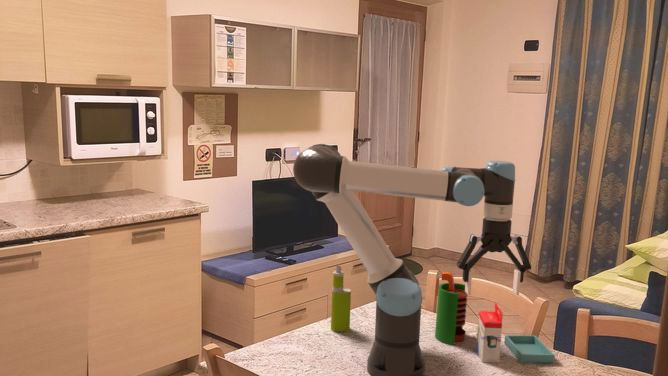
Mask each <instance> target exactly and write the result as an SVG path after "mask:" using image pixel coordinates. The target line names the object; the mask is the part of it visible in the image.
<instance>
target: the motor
mask: <svg viewBox="0 0 668 376" xmlns="http://www.w3.org/2000/svg"><path fill="white" fill-rule="evenodd" d="M441 281H447V282H444V283H441V284H439V285H438V294H437V306H436V319H435V330H434V331H435V333H434V338H435V339H436V340H437V341H439V342H441V343H444V344H447V345H452V346H454V345H455V344H461V343H464V342H465V340H466V333H467V332H466V330H465V329H464V328H463V327H464V326H465V325H466V316H467V315H466V314H467V307H468V306H467V305H468V304H467V303H468V297H469V295H468V294H467V293H466V292H465V284H463V283H459V282H455V280H454V276H453V274H452V273H451V272H448V271H443V272H442V273H441Z"/></svg>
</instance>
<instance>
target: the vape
mask: <svg viewBox="0 0 668 376" xmlns="http://www.w3.org/2000/svg"><path fill="white" fill-rule="evenodd" d="M344 274H345V272H344V271H342V266H340V265H336V266H335V270H334V271H333V272H332V275H333V276H332V277H333V278H332V289H331V295H330V296H331V297H330V298H331V304H330V305H331V310H330V312H331V313H330V330H331V331H332V330H333V331H332V332H335V331H347V332H349V331H350V329H351V327H350V326H351V299H352V297H351V295H352V289H351V288H348V287H344V277H345V275H344Z"/></svg>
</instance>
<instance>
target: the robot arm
mask: <svg viewBox="0 0 668 376" xmlns="http://www.w3.org/2000/svg"><path fill="white" fill-rule="evenodd" d="M292 169H293V170H292V173H293V176H294V179H295V181H296V183H297V184H298V185H299V186H300V187H301V188H303V189H304V190H306V191H308V192H311V193H312V195H313V196H314V198H315V200H316V201H318V202H322V203H324V204H325V205H326V207H327V209H328V210H329V212H330V213H331V215H332V217H333V218H334V220H335V222H336V223H337V225H338V226H339V228H340V230H341V231H342V232H343V234H344V236H345V238H346V239H347V241H348V242H349V244H350V246H351V248H352V249H353V250H354V252H355V254H356V255H357V257H358V258H359V260H360V262H361V263H362V265H363V267H364V268H365V270H366V272H367V273H368V277H367V281H366V282H367V283H368V285H369V286H370V288H371V290H372V291H373V293H374V294H375V301H376V302H375V303H376V304H375V325H374V327H375V328H374V341H373V344H372V346H371V349H370V352H369V355H368V357H367V359H366V360H367V362H366V370H367V372H368V374H369V375H371V376H424V375H425V370H426V369H425V367H426V364H425V361H424V360H425V359H424V356H423V354H422V353H423V352H422V349H421V347H420V334H421V333H420V331H421V315H422V304H423V293H422V289H421V287H420V284H419V281H418V279H417V277H416V276H415V274H414V273H413V272H412V271H411V270H409V269H408V267H407V266H406V263H405V262H404V261H403V259H400V258H396V257H395V256H394V255H393V253H392V251H391V250H390V248H389V246H388V245H387V243H386V242H385V240H384V239H383V236H382V235H381V234H380V232H379V230H378V228H377V227H376V225H375V223H374V221H373V220H372V219H371V217H370V216H369V214H368V212H367V211H366V209H365V208H364V206H363V204H362V203H361V200H360V199H359V198H358V196H357V194H356V193H355V192H361V193H367V194H369V193H371V194H378V195H386V196H387V195H389V196H396V197H405V198H416V199H425V200H432V201H433V200H435V201H444V202H450V203H458V204H459V205H461V206H464V207H472V206H473V207H474V206H476V205H478V204H479V203H480V202H481V201H482V200H483V198H484V203H483V214H482V216H484V217H483V218H482V228H481V231H482V232H481V235H475V234H472V233H471V234H470V235H469V240H468V241H469V242H468V243H467V245H466V246H465V248H464V249H463V252H462V254H461V255H460V257H459V259H458V261H457V263H456V266H457V268H458V269H460V270H462V280H463V282H464V283H465V284H464V285H465V292H466V293H467V294H468V296H469V295H471V294H472V291H471V290H472V280H473V279H472V276H473V271H472V270H471V269H472V268H473V267H474V266H475V265H476V264H477V262H479V261H480V260H481V259H482V257H483V256H484V255H486V254H488V252H489V253H503V252H504V253H505V254H506V255H507V256H508V258H509V259H510V260H511V262H512V264H514V266H515V269H514V271H513V283H512V292H513V294H515V296H519V295H520V285H521V283H523V282H524V274H525V273H527V271H528V270H531V269H532V264H531V262H530V260H529V258H528V256H527V255H528V254H527V253H526V251H525V248H524V246H523V238H522V237H521V236H520V235H518V234H515V235H514V236H512V235H511V233H512V220H511V219H512V218H513V208H514V207H513V206H514V193H515V182H516V166H515V164H514V163H513V162H510V161H505V160H504V161H503V160H490V161H487V163H486V166H485V167H484V168H476V167H475V168H474V167H456V166H449V167H448V166H446V167H443V168H441V169H442V170H437V169H429V168H419V167H408V166H402V165H401V166H400V165H391V164H390V165H389V164H383V163H374V162H373V163H372V162H363V161H354V160H349V159H348V158H347V156H344V155H341V153H340V152H339V151H338V150H337V149H336V148H334V147H333V146H332V145H329V144H324V143H317V144H314V145H312V146H309V147H308V148H306V149H304V150H303V151H301V152H300V153H299V154H298V155H297V157H296V158H295V160H294V162H293V167H292ZM479 242H481V245H480V246H479V247H478V249H477V250H476V251H475V252H474V249H476V246H477V244H478V243H479ZM511 243H513V244H514V245H515V248H516V250H517V254H518V255H519V258H520V260H521V262H522V263H521V262H520V260H518V258H517V257H516V255H515V254H514V253H513V251H512V250H511V248H510V247H509V245H510V244H511ZM472 252H474V253H473V254H472ZM471 255H472V256H471ZM516 268H517V269H516Z"/></svg>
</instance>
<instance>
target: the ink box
mask: <svg viewBox="0 0 668 376" xmlns="http://www.w3.org/2000/svg"><path fill="white" fill-rule="evenodd" d="M503 316H504V315H503V311H502V310H501V308H500V306H499V305H498V303H497V301H496V302H495V303H494V311H491V310H490V311H488V310H479V311H478V323H477V332H478V333H477V341H476V344H475V345H476V346H475V350H476V352H477V354H478V356H479V358H480V360H481V362H482V363H498V364H499V363H500V355H501V342H502V331H503V329H502V328H503Z"/></svg>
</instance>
